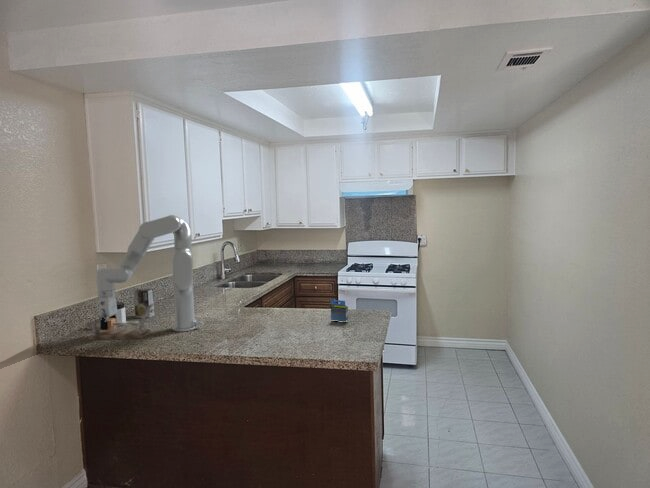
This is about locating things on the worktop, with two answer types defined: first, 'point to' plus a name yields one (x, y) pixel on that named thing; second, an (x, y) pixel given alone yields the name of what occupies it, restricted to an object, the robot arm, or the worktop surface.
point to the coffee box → (144, 303)
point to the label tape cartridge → (339, 310)
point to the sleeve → (110, 324)
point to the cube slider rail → (118, 333)
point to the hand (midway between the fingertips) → (109, 326)
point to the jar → (120, 312)
